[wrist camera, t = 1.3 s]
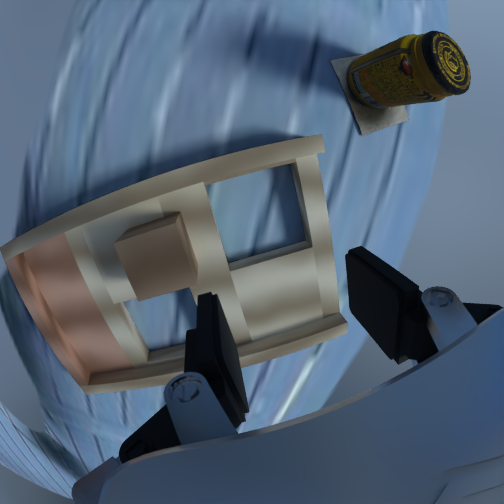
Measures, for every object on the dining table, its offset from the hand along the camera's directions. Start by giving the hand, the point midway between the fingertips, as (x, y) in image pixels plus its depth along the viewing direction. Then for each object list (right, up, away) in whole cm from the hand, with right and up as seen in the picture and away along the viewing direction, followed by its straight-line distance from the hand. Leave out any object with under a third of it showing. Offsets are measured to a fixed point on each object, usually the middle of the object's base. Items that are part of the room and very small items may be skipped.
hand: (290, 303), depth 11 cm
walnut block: (-9, +3, +12) cm, 15 cm away
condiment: (+11, +19, +12) cm, 25 cm away
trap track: (-10, -1, +15) cm, 18 cm away
